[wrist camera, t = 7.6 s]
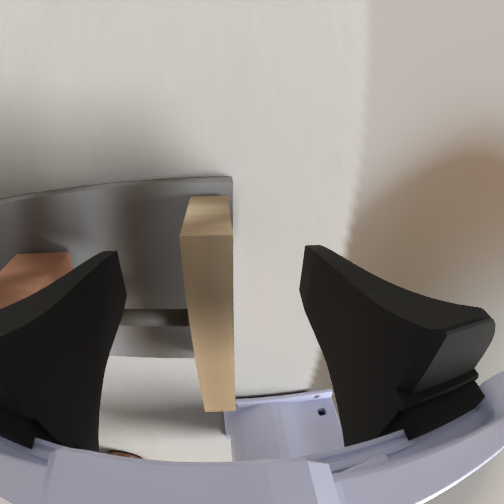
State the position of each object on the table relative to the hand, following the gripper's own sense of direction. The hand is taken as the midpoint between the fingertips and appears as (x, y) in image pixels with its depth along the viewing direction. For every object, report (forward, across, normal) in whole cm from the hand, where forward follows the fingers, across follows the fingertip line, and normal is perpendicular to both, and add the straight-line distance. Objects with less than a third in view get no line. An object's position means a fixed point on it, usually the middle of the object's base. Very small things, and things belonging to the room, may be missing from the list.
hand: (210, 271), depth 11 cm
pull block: (+3, +5, +3) cm, 7 cm away
